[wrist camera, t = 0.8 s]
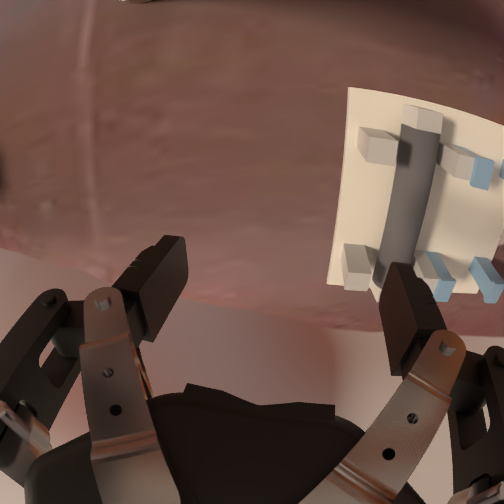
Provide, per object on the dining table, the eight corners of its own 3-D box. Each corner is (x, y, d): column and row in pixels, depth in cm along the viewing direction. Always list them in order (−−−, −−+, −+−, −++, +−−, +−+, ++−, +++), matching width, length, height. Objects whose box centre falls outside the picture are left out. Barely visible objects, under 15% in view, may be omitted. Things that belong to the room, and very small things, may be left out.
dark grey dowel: (396, 102, 21) (416, 107, 18) (428, 109, 21) (451, 116, 18) (364, 283, 31) (374, 305, 28) (392, 282, 31) (403, 303, 28)
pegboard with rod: (347, 86, 22) (360, 88, 16) (523, 134, 19) (558, 151, 13) (326, 279, 33) (328, 319, 28) (474, 289, 30) (492, 323, 25)
